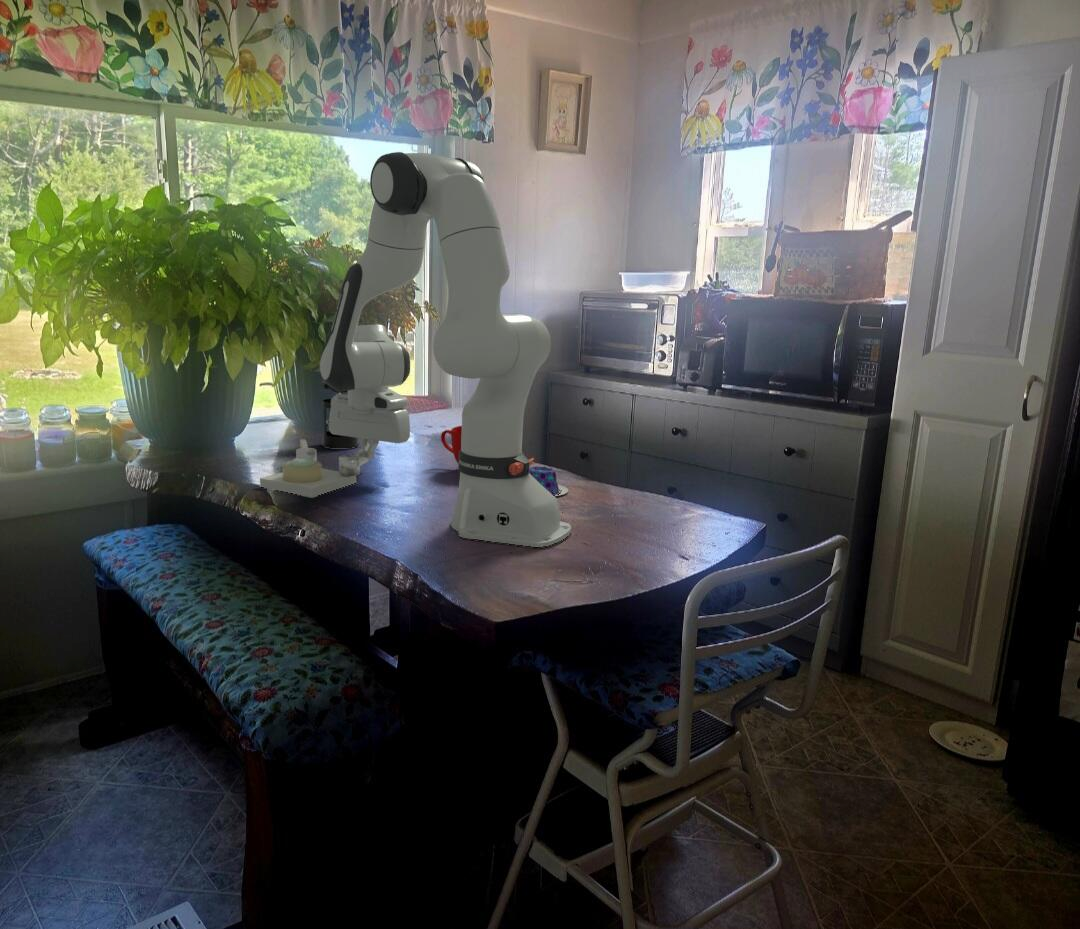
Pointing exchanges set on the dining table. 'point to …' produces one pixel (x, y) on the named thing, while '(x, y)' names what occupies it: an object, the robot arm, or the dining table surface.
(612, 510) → the dining table surface
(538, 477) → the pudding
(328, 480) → the base
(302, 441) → the far knob
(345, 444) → the french press
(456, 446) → the ceramic cup
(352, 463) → the near knob
